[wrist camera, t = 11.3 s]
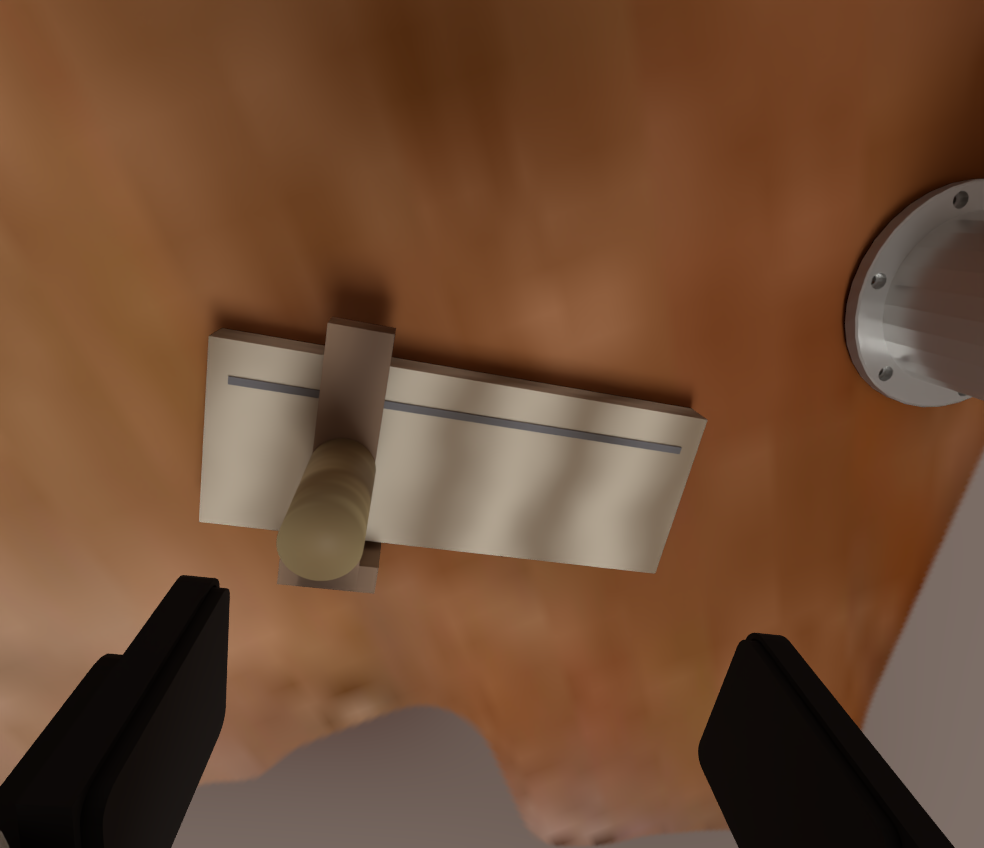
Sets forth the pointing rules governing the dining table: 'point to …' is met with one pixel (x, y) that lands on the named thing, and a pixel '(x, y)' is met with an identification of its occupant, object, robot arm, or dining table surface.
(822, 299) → the dining table surface
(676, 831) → the dining table surface
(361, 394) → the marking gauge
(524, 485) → the birch board
